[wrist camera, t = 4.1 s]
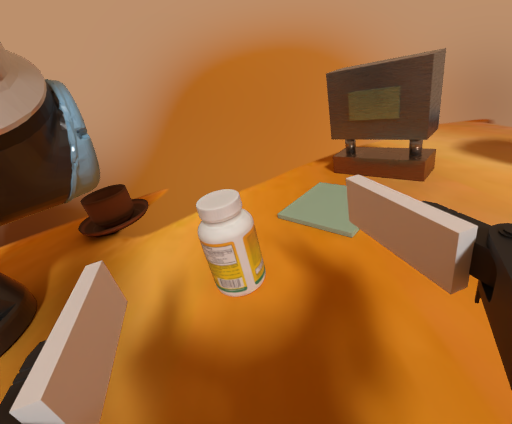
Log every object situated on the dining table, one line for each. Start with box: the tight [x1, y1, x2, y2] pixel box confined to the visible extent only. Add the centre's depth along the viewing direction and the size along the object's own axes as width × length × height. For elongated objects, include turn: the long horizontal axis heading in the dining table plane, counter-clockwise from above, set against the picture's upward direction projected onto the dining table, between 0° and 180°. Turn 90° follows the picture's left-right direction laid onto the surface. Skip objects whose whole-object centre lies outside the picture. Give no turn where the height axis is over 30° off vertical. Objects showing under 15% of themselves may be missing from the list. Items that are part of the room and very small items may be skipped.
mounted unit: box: [326, 48, 446, 181], centre depth 40 cm, size 14×5×16 cm, turn 47°
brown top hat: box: [78, 184, 148, 236], centre depth 48 cm, size 12×12×6 cm
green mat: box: [278, 182, 359, 237], centre depth 37 cm, size 11×11×1 cm
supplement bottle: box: [196, 189, 266, 297], centre depth 26 cm, size 5×5×10 cm
